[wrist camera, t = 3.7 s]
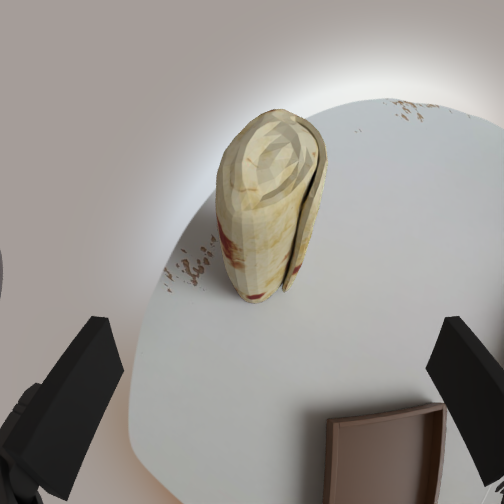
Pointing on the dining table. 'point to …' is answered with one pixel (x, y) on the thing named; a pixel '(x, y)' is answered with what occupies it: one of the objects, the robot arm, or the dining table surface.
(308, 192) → the food model
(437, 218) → the dining table surface
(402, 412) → the serving tray
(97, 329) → the robot arm
